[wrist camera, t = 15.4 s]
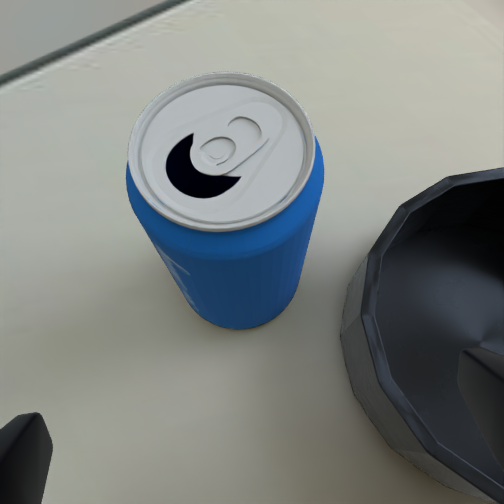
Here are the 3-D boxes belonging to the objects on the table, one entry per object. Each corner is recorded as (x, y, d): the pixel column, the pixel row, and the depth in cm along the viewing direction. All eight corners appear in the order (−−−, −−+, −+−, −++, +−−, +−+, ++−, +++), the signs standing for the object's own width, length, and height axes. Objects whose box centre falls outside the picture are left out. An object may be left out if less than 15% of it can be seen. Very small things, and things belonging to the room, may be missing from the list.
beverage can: (158, 272, 24) (69, 142, 13) (243, 201, 26) (228, 30, 15) (236, 357, 22) (211, 290, 11) (322, 275, 24) (375, 145, 13)
